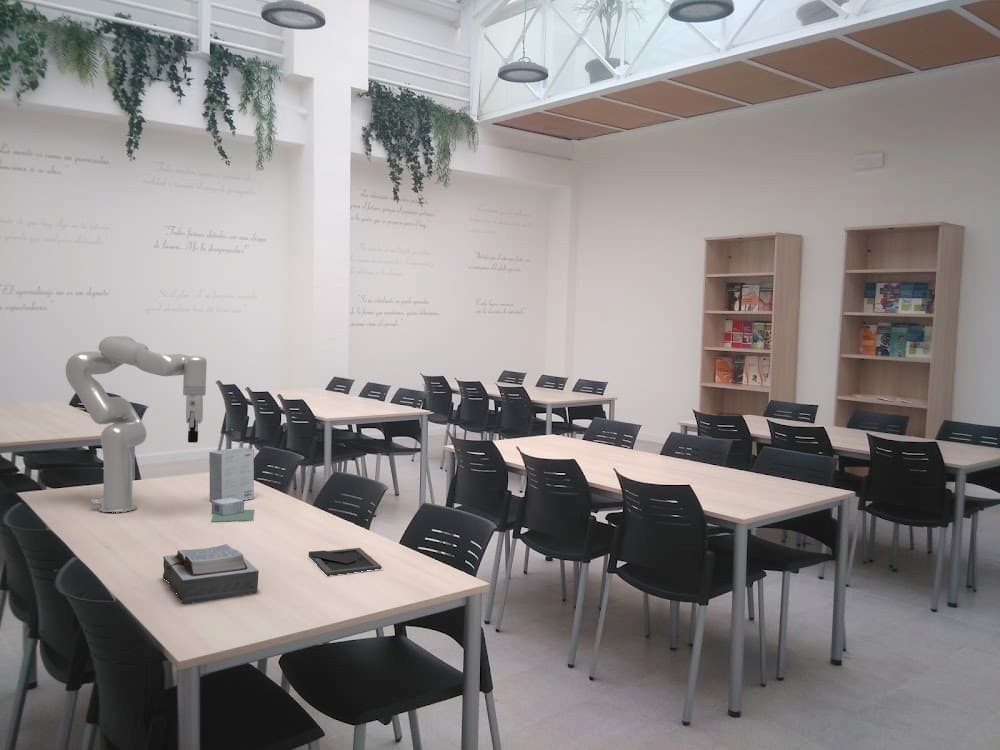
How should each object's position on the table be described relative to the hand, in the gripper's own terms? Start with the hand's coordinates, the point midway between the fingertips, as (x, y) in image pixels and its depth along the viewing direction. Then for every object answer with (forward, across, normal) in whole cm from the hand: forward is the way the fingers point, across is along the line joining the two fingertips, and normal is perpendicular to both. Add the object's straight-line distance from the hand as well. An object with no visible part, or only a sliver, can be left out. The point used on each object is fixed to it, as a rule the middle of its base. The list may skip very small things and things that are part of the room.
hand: (192, 442), depth 287 cm
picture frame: (+26, -66, -50) cm, 87 cm away
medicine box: (+24, -1, -9) cm, 25 cm away
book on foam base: (+26, -80, -13) cm, 86 cm away
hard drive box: (+27, +23, -13) cm, 38 cm away
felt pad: (+26, -3, -15) cm, 30 cm away
